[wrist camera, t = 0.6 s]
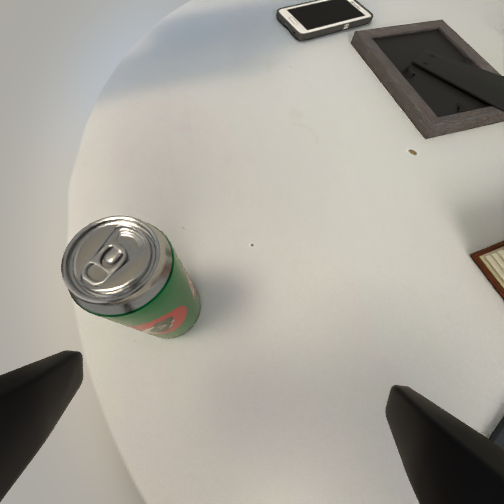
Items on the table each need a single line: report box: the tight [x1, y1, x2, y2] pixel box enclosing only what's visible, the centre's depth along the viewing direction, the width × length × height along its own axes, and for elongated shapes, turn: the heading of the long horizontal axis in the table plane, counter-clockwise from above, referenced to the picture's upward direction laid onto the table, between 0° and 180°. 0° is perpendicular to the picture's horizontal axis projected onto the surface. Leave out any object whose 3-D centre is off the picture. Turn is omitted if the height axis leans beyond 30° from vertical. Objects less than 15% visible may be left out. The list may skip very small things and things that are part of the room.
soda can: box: [61, 216, 201, 339], centre depth 17 cm, size 5×5×12 cm
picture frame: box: [351, 20, 504, 139], centre depth 37 cm, size 16×2×21 cm
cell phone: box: [276, 0, 373, 40], centre depth 42 cm, size 8×15×1 cm, turn 118°
